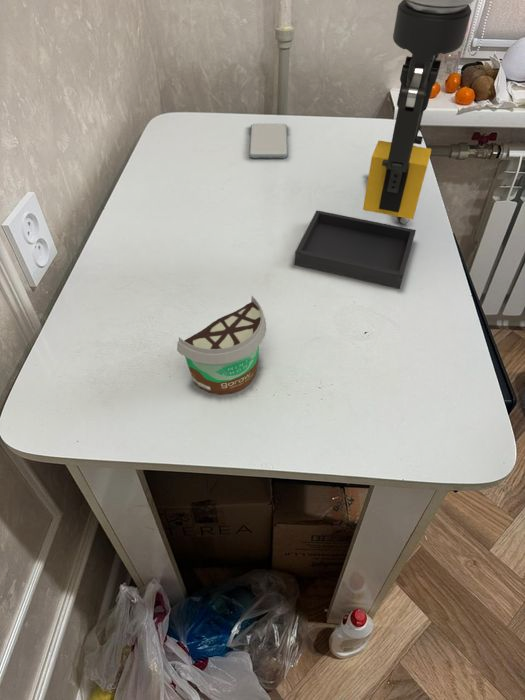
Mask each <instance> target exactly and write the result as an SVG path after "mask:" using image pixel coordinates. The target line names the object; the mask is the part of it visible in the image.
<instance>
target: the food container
mask: <svg viewBox="0 0 525 700" xmlns="http://www.w3.org/2000/svg"><path fill="white" fill-rule="evenodd" d="M266 332H267V321H266V318H265V313H264V311H263V309H262V306H261V304H259V301H257V299H256V298H255V296H253V295H251V299H250V302H249V303H247V304H246V305H244V306H242V307H241V308H239V309H237V310H235V311H233V312H231V313H228V314H226V315H224V316H221V317H219V318H218V319H216V320H215V321H213V322H212V323H210V324H209V325H207V326H206V327H205V328H203V329H202V330H200V331H198V332H196V333H194V334H193V335H191V336H190V337H188V338H186V339H185V340H184V339H182V337H180V336H179V337H178V341H177V345H176V351H177V352H178V353H179V354H180V355H182V356H184V359H185V361H186V364H187V366H188V368H189V369H188V370H189V372H190V375H191V378H192V380H193V383H194V385H196V387H198V388H199V389H201V390H202V391H205V392H206V393H209V394H213V395H218V396H219V395H220V396H222V395H232V394H235V393H238V392H240V391H243V390H244V389H246V388H247V387H248V386H249V385H250V384H251V383H252V382H253V380H254V379H255V377H256V375H257V370H258V362H259V361H258V360H259V352H260V345H261V344H262V342H263V340H264V338H265V336H266Z"/></svg>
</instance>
